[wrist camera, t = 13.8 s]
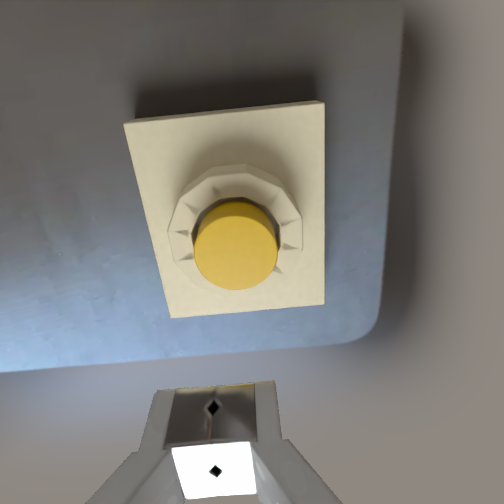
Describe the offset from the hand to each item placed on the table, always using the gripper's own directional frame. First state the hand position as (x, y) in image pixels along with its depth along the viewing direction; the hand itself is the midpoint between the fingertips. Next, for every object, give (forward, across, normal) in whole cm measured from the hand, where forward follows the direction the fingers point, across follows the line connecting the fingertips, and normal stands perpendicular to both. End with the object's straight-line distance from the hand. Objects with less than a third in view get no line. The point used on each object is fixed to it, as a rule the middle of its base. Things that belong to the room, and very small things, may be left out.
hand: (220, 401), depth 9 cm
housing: (+14, 0, 0) cm, 14 cm away
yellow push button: (+10, 0, 0) cm, 10 cm away
